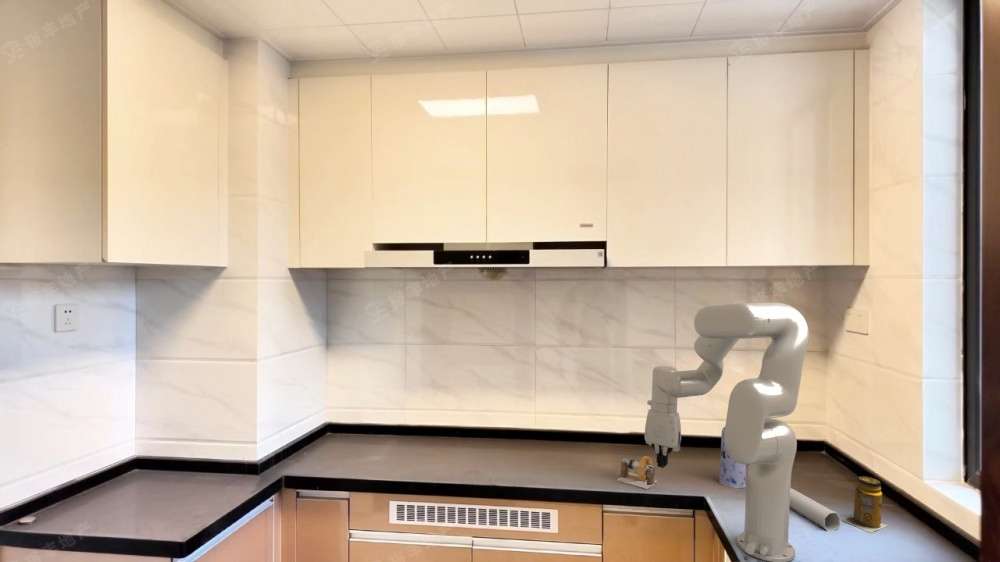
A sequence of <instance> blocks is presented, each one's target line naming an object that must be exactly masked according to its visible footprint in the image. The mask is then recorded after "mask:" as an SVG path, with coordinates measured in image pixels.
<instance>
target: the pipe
mask: <svg viewBox="0 0 1000 562" xmlns="http://www.w3.org/2000/svg"><path fill="white" fill-rule="evenodd" d="M621 461H623V462H625V466H626V467H629V469H630V470H636V471H638V465H639V462H640V461H636V460H635V459H629V458H625V457H623V458H622V460H621ZM654 467H655V466H653V465H652V466H651V465H646V468H645V472H646V473H647V469H651V473H652V474H653V473H654V472H653V471H654Z"/></svg>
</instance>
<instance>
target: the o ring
mask: <svg viewBox="0 0 1000 562" xmlns="http://www.w3.org/2000/svg"><path fill="white" fill-rule="evenodd" d="M638 462H639V465H638V470H637V475H638V476H639V478H640V479H642V480H645V481H646V480H647V473H646V472H645V468H646V465H651V466H653V463H654V462H653V460H652V458H651V457H650V456H646V455H643V456H642V457H640V460H639V461H638Z"/></svg>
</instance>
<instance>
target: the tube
mask: <svg viewBox="0 0 1000 562" xmlns="http://www.w3.org/2000/svg"><path fill="white" fill-rule="evenodd" d="M791 508H792V509H791ZM789 509H791V510H793V509H794V510H793V511H795V512H796V511H797V512H796V513H798V514H800V515H801V516H803V517H804V516H805V518H806V519H808V520H810V521H811V522H813V523H815V524H816V525H817V526H819V527H821V528H822V529H824V530H825V531H826V532H834V531H836V530H837V529H838V528H840V527H841V517H840V515H839V514H838V512H837V511H835V510H832V509H829V508H828V507H826V506H824V505H822V504H821V503H820V502H817V501H815V500H813V499H812V498H810V497H808V496H806V495H804V494H803V493H801V492H799V491H797V490H796V489H794V488H792V487H790V507H789Z"/></svg>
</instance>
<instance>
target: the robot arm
mask: <svg viewBox="0 0 1000 562" xmlns="http://www.w3.org/2000/svg"><path fill="white" fill-rule="evenodd" d="M807 323H808V322H807V321H806V319H805V317H804V316H803V314H802V313H801V312H800V311H799V310H798V309H796V308H795V307H794V306H792V305H789V304H786V303H783V302H739V303H737V302H736V303H729V304H718V305H706V306H704V307H702V308H700V309H699V310H698V311H697V313H696V315H694V320H693V326H694V329H695V332H696V333H697V334H698V335H699V336H698V337H697V338H696V339H695V341H694V343H693V349H694V351H695V353H696V354H697V356H698V357H699V358H700V359H702V360H703V361H702V362H701V363H700V365H699V366H698V367H697V368H696V369H690V370H681V371H680V370H679V371H678V369H677V368H675V367H673V366H669V365H657V366H655V367H653V369H652V381H651V382H652V384H651V399H650V400H647V403H646V404H647V405H648V406H650V408H648V410H647V415H646V420H645V427H644V440H645V443H646V444H647V445H649V446H650V447H652V449H653V450H654V452H655V454H656V463H657V467H658V468H661V469H663V468H665V467H667V466H668V464H669V455H670V453H671V452H680V451H681V443H682V427H681V426H682V425H681V419H680V417H681V416H680V414H679V412H678V399H681V398H688V397H698V396H704V395H706V394H708V393H709V392H710V391H712V389H713V388H714V387H715V386H716V385H717V383H719V381H720V379H721V378H722V376H723V372H724V359H725V357H727V355H728V354H729V353H730V351H731V350H732V349H733V348H734V347H735V345H736V344H737V343H738V342H739V340H740V339H743V340H744V339H760V338H761V339H763V338H770V339H771V342H770V344H769V345H768V346H767V347H766V350H765V351H764V354H763V357H762V360H761V367H760V370H759V372H760V373H759V375H758V376H757V377H754V378H747V379H743V380H741V381H739V382H738V383H737V384H735V385H734V387H733V388H732V390H731V392H730V395H729V399H728V400H729V401H728V406H727V412H726V418H725V419H726V421H725V425H724V427H725V432H724V444H725V448H726V451H727V453H728V455H729V456H730V458H731V459H732V460H734V461H735V462H737V463H739V464H743V465H746V466H747V465H748V467H747V469H746V487H745V504H744V505H745V509H744V529H743V530H744V531H743V532H741V533H739V534H738V535H737V536H736V537H737V538H736V543H737V546H738V547H739V548H740V549H741V550H742V551H743V552H744V553H746V554H749V555H750V556H752V557H754V558H756V559H760V560H762V561H767V562H791V561H792V560H794V558H795V557H796V549H795V547H794V546H793V545H792V544H791V542H789V531H790V530H789V527H790V523H789V522H790V488H792V487H791V485H792V484H791V483H792V472H793V465H794V461H795V458H796V457H795V456H796V454H797V447H798V446H797V444H798V443H797V437H796V433H795V432H794V430H793V428H792V427H791V426H790V425H789V424H787V422H785V421H783V420H780V419H777V418H783V417H786V416H787V417H788V416H789V415H791V414H792V413H794V411H795V409H796V407H797V404H798V400H799V399H798V398H799V393H800V392H799V391H800V387H801V386H800V385H801V380H802V376H803V375H802V374H803V367H804V361H805V357H806V353H807V349H808V344H809V341H810V340H809V339H810V337H809V336H810V331H809V327H808V324H807Z"/></svg>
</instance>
